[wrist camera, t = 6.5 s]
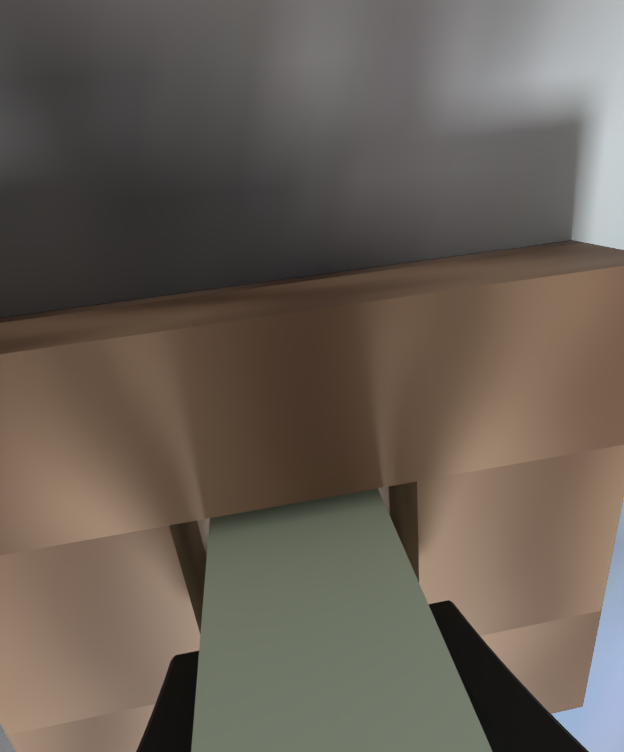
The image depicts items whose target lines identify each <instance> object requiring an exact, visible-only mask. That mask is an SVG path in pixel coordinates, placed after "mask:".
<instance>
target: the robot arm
mask: <svg viewBox="0 0 624 752" xmlns="http://www.w3.org/2000/svg"><path fill="white" fill-rule="evenodd" d="M428 605H429V607H430V609H431V612H432V614H433V616H434V618H435V621H436V623H437V625H438V628H439V630H440V632H441V635H442V637H443V639H444V641H445V644H446V646H447V648H448V651H449V653H450V655H451V657H452V660H453V662H454V664H455V667H456V669H457V671H458V674H459V676H460V678H461V680H462V683H463V685H464V687H465V690H466V692H467V694H468V696H469V699H470V701H471V703H472V706H473V708H474V710H475V713H476V715H477V717H478V719H479V722H480V724H481V726H482V729H483V731H484V733H485V735H486V738H487V740H488V742H489V745H490V747H491V749H492V752H588V751H587V750H586V749H585V748H584V747H583V746H582V745H581V744H580V743H579V742H578V741H577V740H576V739H575V738H574V737H573V736H572V735H571V734H570V733H569V732H568V731H567V730H566V729H565V728H564V727H563V726H562V725H561V724H560V723H559V722H558V721H557V720H556V719H555V718H554V717H553V716H552V715H551V714H550V713H549V712H548V711H547V710H546V709H545V708H544V706H543V705H542V704H541V703H540V702H539V701H538V700H537V699H536V698H535V697H534V696H533V695H532V694H531V693H530V691H529V690H528V689H527V688H526V687H525V686H524V685H523V684H522V683H521V682H520V681H519V680H518V679H517V678H516V676H515V675H514V674H513V673H512V672H511V671H510V670H509V669H508V668H507V666H506V665H505V664H504V663H503V662H502V661H501V660H500V659H499V657H498V656H497V655H496V654H495V653H494V652H493V651H492V649H491V648H490V647H489V646H488V645H487V644H486V642H485V641H484V640H483V639H482V638H481V636H480V635H479V634H478V633H477V632H476V630H475V629H474V628H473V627H472V626H471V624H470V623H469V622H468V621H467V619H466V618H465V617H464V616H463V614H462V613H461V612H460V611H459V609H458V608H457V607H456V605H455V604H454V603H453V602H451V601H450V600H447V601H442V602H437V603H432V604H428ZM198 659H199V651H194V652H189V653H184V654H179V655H175V656H174V657H173V658H172V660H171V661H170V664H169V667H168V670H167V673H166V676H165V679H164V682H163V685H162V687H161V690H160V693H159V696H158V698H157V701H156V704H155V706H154V709H153V712H152V714H151V717H150V719H149V722H148V724H147V727H146V729H145V732H144V734H143V737H142V739H141V742H140V744H139V746H138V749H137V751H136V752H191V747H192V735H193V722H194V710H195V697H196V684H197V672H198Z"/></svg>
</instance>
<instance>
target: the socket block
mask: <svg viewBox="0 0 624 752" xmlns="http://www.w3.org/2000/svg"><path fill="white" fill-rule="evenodd" d="M377 488H378V490H379V492H380V494H381V497H382V499H383V501H384V504H385V506H386V508H387V511H388V513H389V515H390V517H391V520H392V522H393V524H394V527H395V529H396V531H397V534H398V536H399V538H400V540H401V543H402V545H403V547H404V550H405V552H406V554H407V556H408V559H409V561H410V563H411V566H412V568H413V570H414V573H415V575H416V577H417V579H418V582H419V584H420V586H421V589H422V591H423V593H424V595H425V598H426V600H427V602H428V604H432V603H437V602H442V601H447V600H450V601H451V602H453V603H454V604H455V605H456V607H457V608H458V609H459V611H460V612H461V613H462V614H463V616H464V617H465V618H466V619H467V621H468V622H469V623H470V624H471V626H472V627H473V628H474V629H475V630H476V632H477V633H478V634H479V635H480V636H481V638H482V639H483V640H484V641H485V642H486V644H487V645H488V646H489V647H490V648H491V649H492V651H493V652H494V653H495V654H496V655H497V656H498V657H499V659H500V660H501V661H502V662H503V663H504V664H505V665H506V666H507V668H508V669H509V670H510V671H511V672H512V673H513V674H514V675H515V676H516V678H517V679H518V680H519V681H520V682H521V683H522V684H523V685H524V686H525V687H526V688H527V689H528V690H529V691H530V693H531V694H532V695H533V696H534V697H535V698H536V699H537V700H538V701H539V702H540V703H541V704H542V705H543V706H544V708H545V709H546V710H547V711H548V712H549V713H550V714H552V713H556V712H561V711H565V710H569V709H574V708H578V707H583V702H584V697H585V692H586V687H587V682H588V677H589V672H590V666H591V661H592V656H593V651H594V646H595V641H596V636H597V631H598V626H599V620H600V615H601V610H602V605H603V600H604V595H605V590H606V585H607V579H608V574H609V569H610V564H611V559H612V554H613V549H614V544H615V538H616V533H617V528H618V523H619V518H620V513H621V508H622V503H623V497H624V250H620V249H615V248H609V247H604V246H599V245H594V244H589V243H583V242H578V241H573V240H572V241H565V242H557V243H550V244H542V245H535V246H528V247H520V248H513V249H506V250H498V251H491V252H484V253H476V254H469V255H461V256H454V257H447V258H439V259H432V260H425V261H417V262H410V263H403V264H395V265H388V266H380V267H373V268H366V269H358V270H351V271H344V272H336V273H329V274H322V275H314V276H307V277H299V278H292V279H285V280H277V281H270V282H263V283H255V284H248V285H241V286H233V287H226V288H218V289H211V290H204V291H196V292H189V293H182V294H174V295H167V296H160V297H152V298H145V299H138V300H130V301H123V302H115V303H108V304H101V305H93V306H86V307H79V308H71V309H64V310H57V311H49V312H42V313H34V314H27V315H20V316H12V317H5V318H0V725H1V727H2V728H3V730H4V732H5V733H6V735H7V737H8V738H9V740H10V742H11V743H12V745H13V747H14V748H15V750H16V752H136V751H137V749H138V746H139V744H140V742H141V739H142V737H143V734H144V732H145V729H146V727H147V724H148V722H149V719H150V717H151V714H152V712H153V709H154V706H155V704H156V701H157V698H158V696H159V693H160V690H161V687H162V685H163V682H164V679H165V676H166V673H167V670H168V667H169V664H170V661H171V660H172V658H173V657H174V656H175V655H179V654H184V653H189V652H194V651H199V647H200V634H201V622H202V609H203V596H204V584H205V571H206V559H207V546H208V533H209V521H210V518H214V517H219V516H225V515H231V514H236V513H242V512H248V511H253V510H259V509H265V508H270V507H276V506H281V505H287V504H293V503H298V502H304V501H310V500H315V499H321V498H326V497H332V496H338V495H343V494H349V493H355V492H360V491H366V490H371V489H377Z"/></svg>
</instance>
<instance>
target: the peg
mask: <svg viewBox="0 0 624 752" xmlns="http://www.w3.org/2000/svg"><path fill="white" fill-rule="evenodd" d="M191 752H492V749H491V747H490V745H489V742H488V740H487V738H486V735H485V733H484V731H483V729H482V726H481V724H480V722H479V719H478V717H477V715H476V713H475V710H474V708H473V706H472V703H471V701H470V699H469V696H468V694H467V692H466V690H465V687H464V685H463V683H462V680H461V678H460V676H459V674H458V671H457V669H456V667H455V664H454V662H453V660H452V657H451V655H450V653H449V651H448V648H447V646H446V644H445V641H444V639H443V637H442V635H441V632H440V630H439V628H438V625H437V623H436V621H435V618H434V616H433V614H432V612H431V609H430V607H429V605H428V602H427V600H426V598H425V595H424V593H423V591H422V589H421V586H420V584H419V582H418V579H417V577H416V575H415V573H414V570H413V568H412V566H411V563H410V561H409V559H408V556H407V554H406V552H405V550H404V547H403V545H402V543H401V540H400V538H399V536H398V534H397V531H396V529H395V527H394V524H393V522H392V520H391V517H390V515H389V513H388V511H387V508H386V506H385V504H384V501H383V499H382V497H381V494H380V492H379V490H378V488H377V489H371V490H366V491H360V492H355V493H349V494H343V495H338V496H332V497H326V498H321V499H315V500H310V501H304V502H298V503H293V504H287V505H281V506H276V507H270V508H265V509H259V510H253V511H248V512H242V513H236V514H231V515H225V516H219V517H214V518H210V521H209V533H208V546H207V559H206V571H205V584H204V596H203V609H202V622H201V634H200V647H199V659H198V672H197V684H196V697H195V710H194V722H193V735H192V747H191Z"/></svg>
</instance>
